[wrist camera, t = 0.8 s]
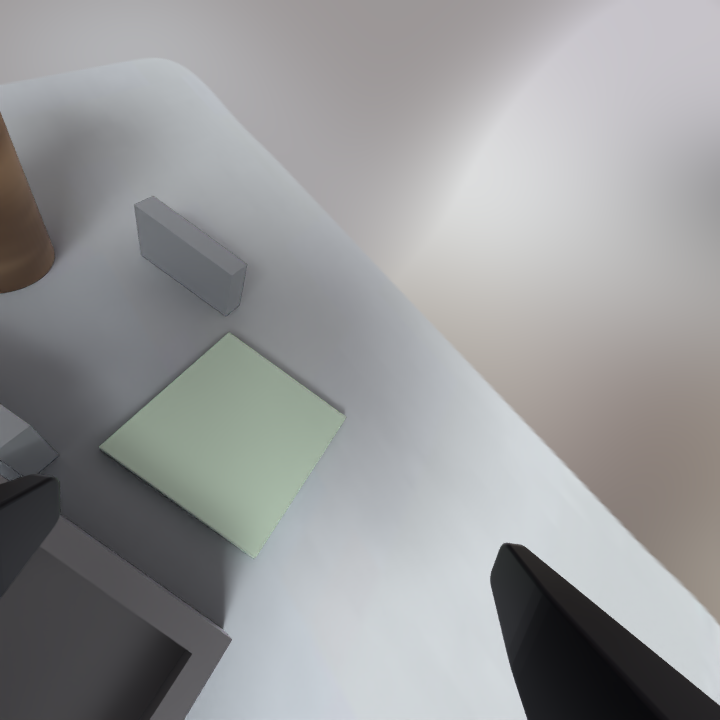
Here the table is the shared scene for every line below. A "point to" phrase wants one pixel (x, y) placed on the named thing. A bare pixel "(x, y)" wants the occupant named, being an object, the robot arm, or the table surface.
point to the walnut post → (19, 224)
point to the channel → (179, 260)
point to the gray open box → (99, 638)
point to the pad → (229, 442)
